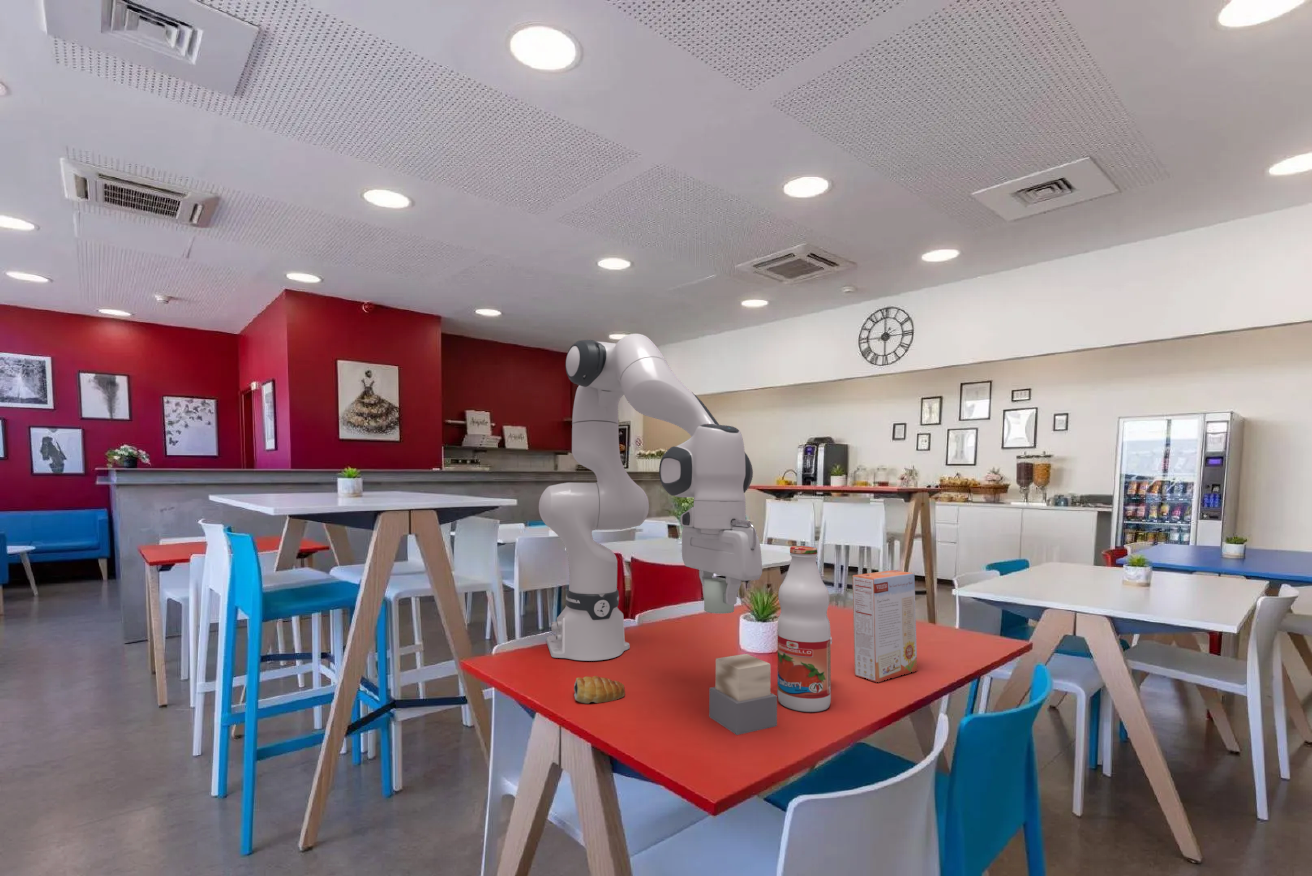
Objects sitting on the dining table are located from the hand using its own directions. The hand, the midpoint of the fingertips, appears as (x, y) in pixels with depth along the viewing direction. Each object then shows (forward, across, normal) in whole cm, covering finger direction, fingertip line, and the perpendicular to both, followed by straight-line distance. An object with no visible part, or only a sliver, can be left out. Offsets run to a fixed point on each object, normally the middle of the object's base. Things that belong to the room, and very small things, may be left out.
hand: (719, 600), depth 101 cm
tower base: (+20, -1, -4) cm, 20 cm away
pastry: (+20, +19, +15) cm, 31 cm away
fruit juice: (+20, +1, -19) cm, 27 cm away
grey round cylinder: (+2, 0, 0) cm, 2 cm away
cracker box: (+20, +8, -46) cm, 50 cm away
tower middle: (+15, -1, -4) cm, 16 cm away
